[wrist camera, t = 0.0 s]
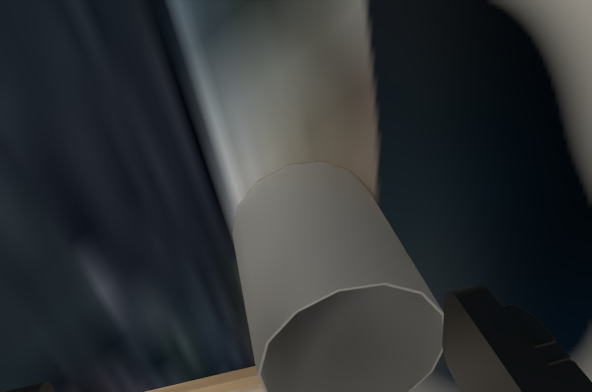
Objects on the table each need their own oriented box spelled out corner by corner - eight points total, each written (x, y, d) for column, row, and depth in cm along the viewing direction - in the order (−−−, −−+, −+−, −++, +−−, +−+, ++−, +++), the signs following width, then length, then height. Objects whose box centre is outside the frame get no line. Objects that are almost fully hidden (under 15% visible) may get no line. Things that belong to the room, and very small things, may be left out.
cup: (236, 287, 32) (260, 434, 24) (227, 170, 28) (252, 301, 20) (368, 269, 34) (433, 402, 25) (379, 155, 29) (463, 271, 21)
